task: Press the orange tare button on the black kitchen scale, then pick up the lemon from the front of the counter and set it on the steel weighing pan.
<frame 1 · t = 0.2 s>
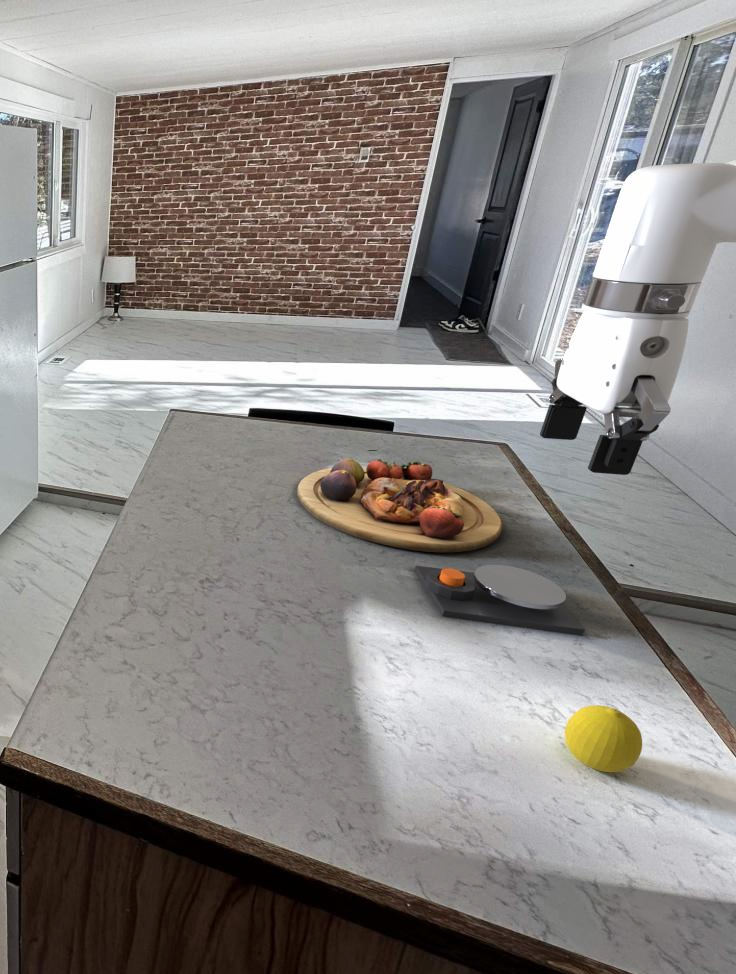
hand: (580, 454, 70), 31 cm above the counter, tool pointing down, fingers open, 9 cm apart
wooden plate: (390, 512, 122), on the counter
lemon: (588, 768, 69), on the counter
scale: (489, 605, 95), on the counter
tare button: (452, 577, 95), point 4 cm above the counter, slide at 0.1 cm
scale pan: (510, 608, 94), resting on scale
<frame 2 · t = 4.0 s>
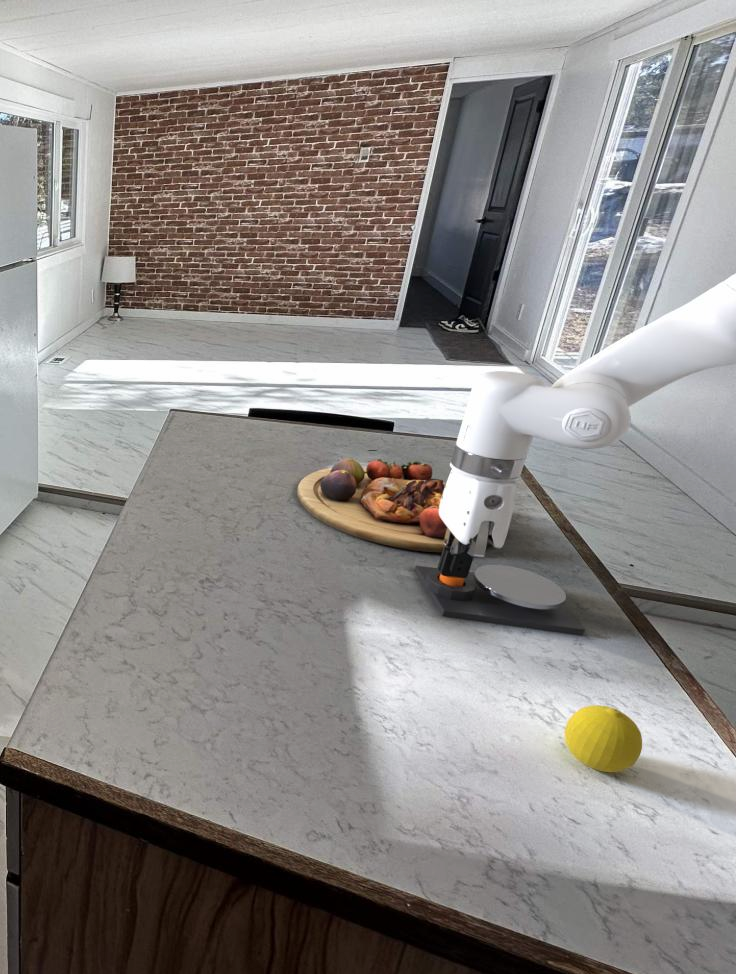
hand: (451, 573, 95), 5 cm above the counter, tool pointing down, fingers closed
tare button: (451, 578, 95), point 4 cm above the counter, slide at 0.0 cm, touching gripper
everything else where it was.
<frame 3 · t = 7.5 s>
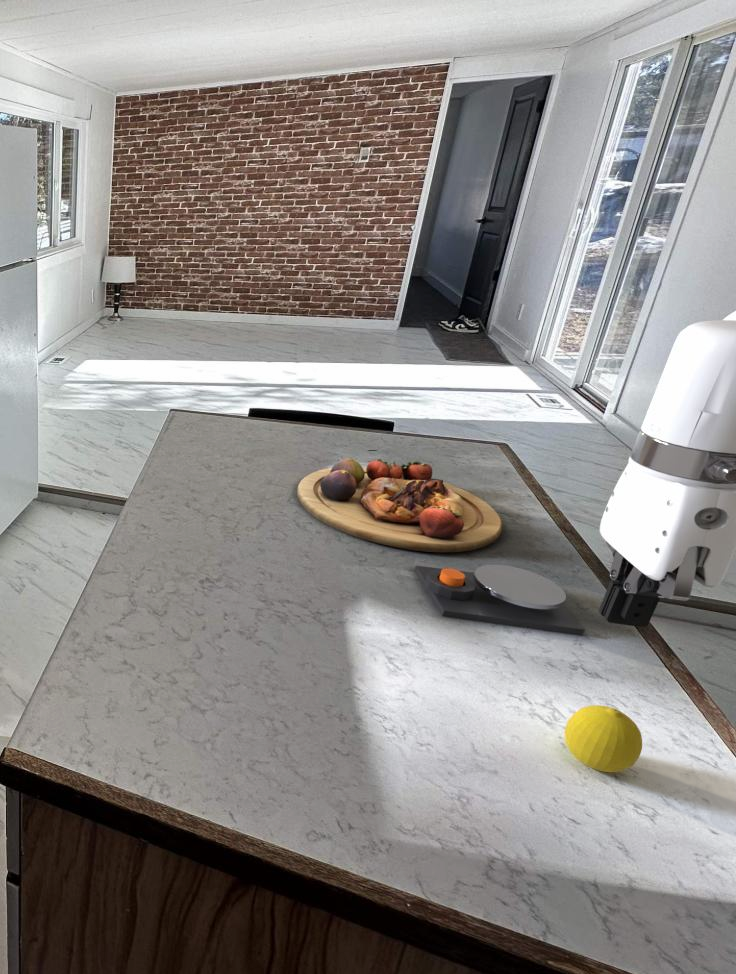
hand: (621, 619, 66), 17 cm above the counter, tool pointing down, fingers closed
tare button: (452, 577, 95), point 4 cm above the counter, slide at 0.1 cm
everything else where it was.
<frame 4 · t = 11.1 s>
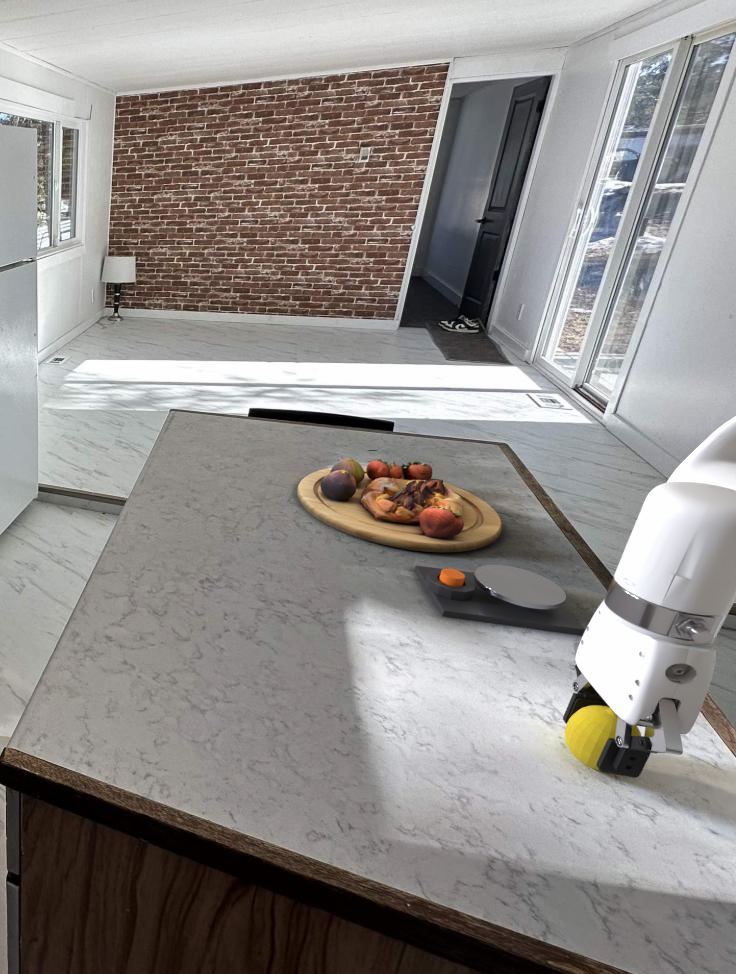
hand: (598, 746, 68), 3 cm above the counter, tool pointing down, fingers closed on lemon, 5 cm apart
lemon: (588, 768, 69), on the counter, touching gripper
everything else where it was.
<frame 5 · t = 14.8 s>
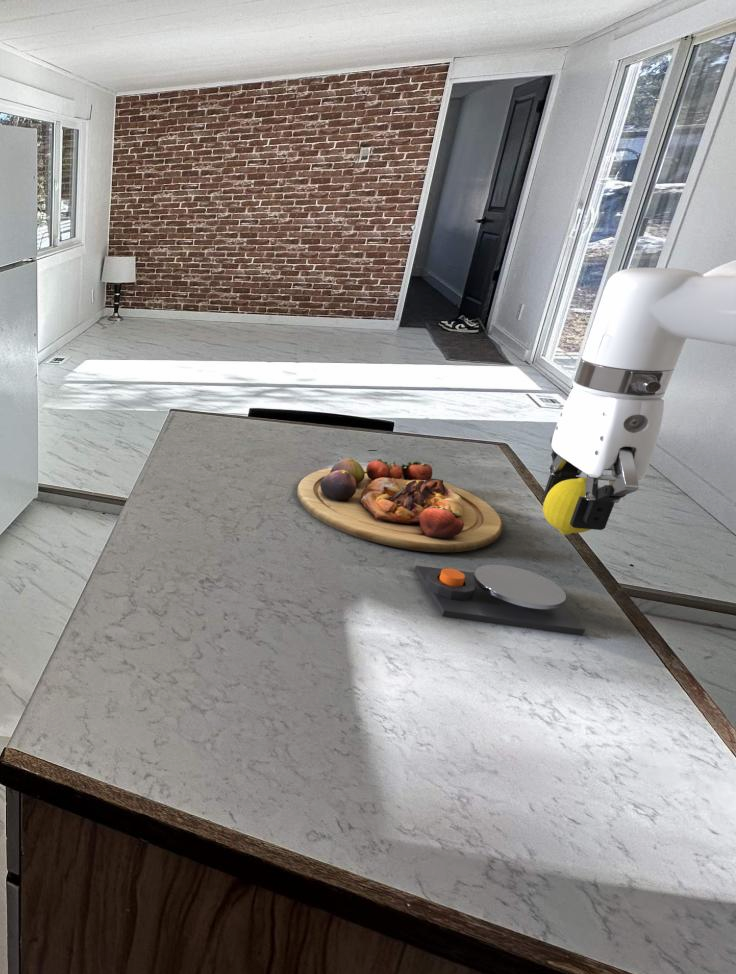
hand: (571, 514, 81), 19 cm above the counter, tool pointing down, fingers closed on lemon, 5 cm apart
lemon: (563, 535, 82), point 16 cm above the counter, touching gripper
everything else where it was.
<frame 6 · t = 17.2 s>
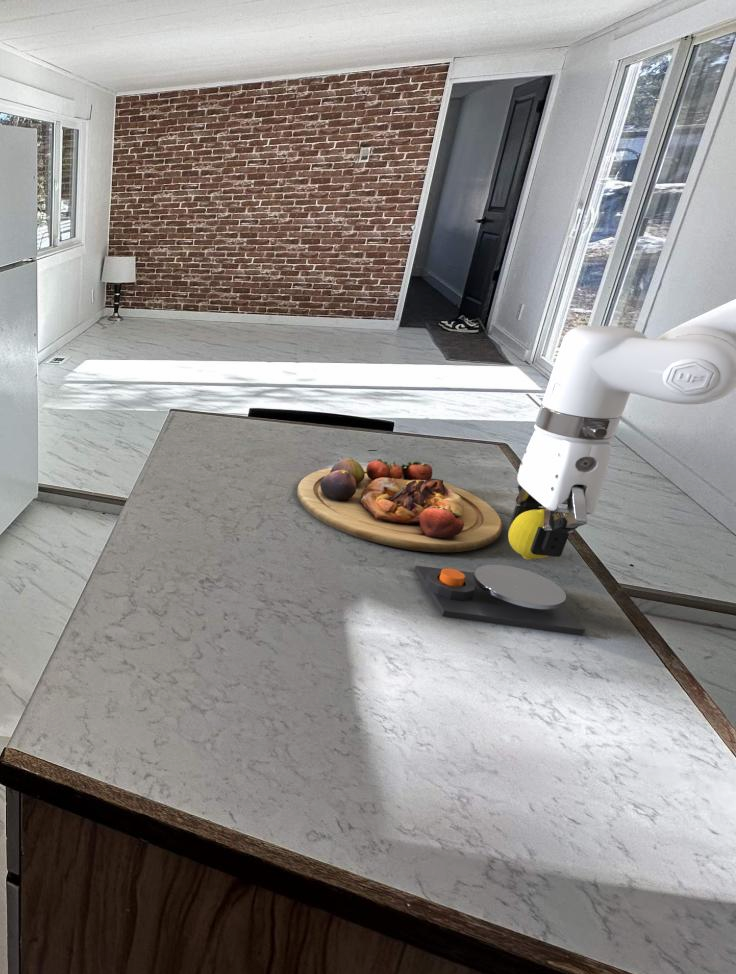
hand: (533, 541, 90), 11 cm above the counter, tool pointing down, fingers closed on lemon, 5 cm apart
lemon: (526, 560, 91), point 8 cm above the counter, touching gripper
everything else where it was.
when the fingers open (7 cm above the counter, at t = 18.7 s): lemon stays where it is, resting on scale pan.
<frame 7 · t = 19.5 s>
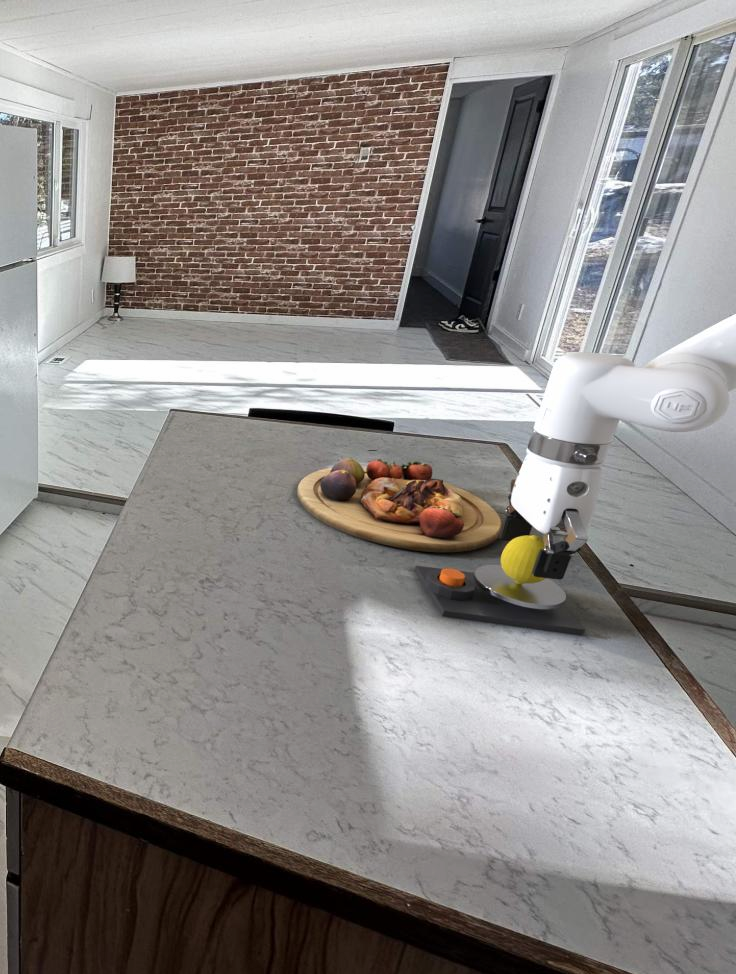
hand: (528, 558, 90), 9 cm above the counter, tool pointing down, fingers open, 9 cm apart
lemon: (518, 584, 92), point 4 cm above the counter, touching scale pan
everything else where it was.
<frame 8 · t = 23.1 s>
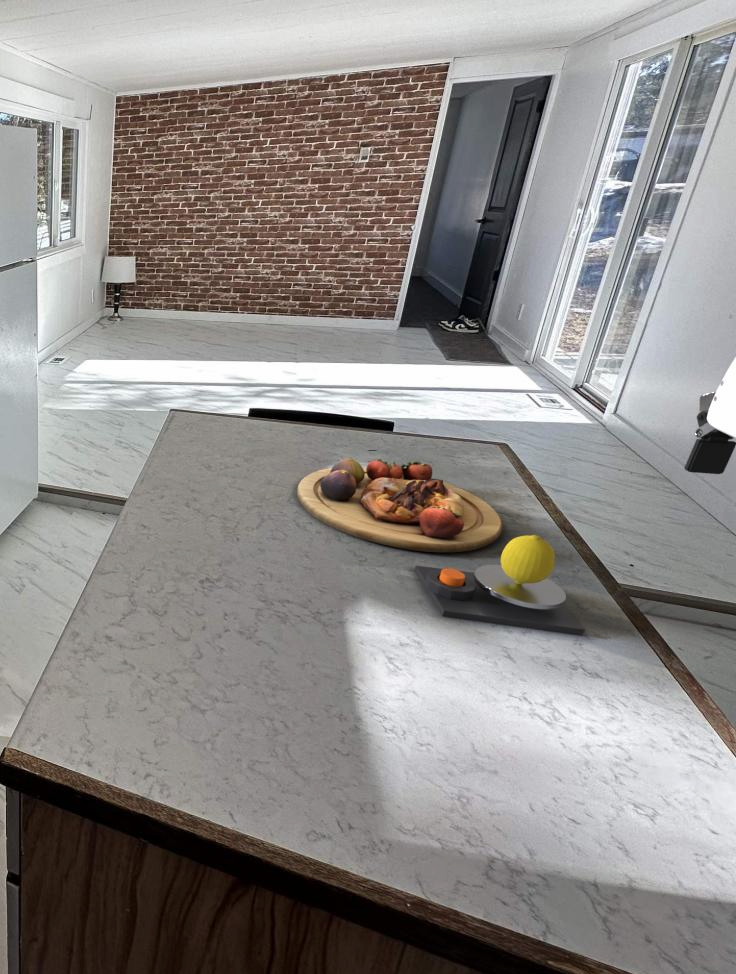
hand: (735, 490, 71), 26 cm above the counter, tool pointing down, fingers open, 9 cm apart
nothing on the counter moved.
at the end: tare button pushed in 0.9 cm at the most during the clip, back to where it started at the end; tare button slide at 0.1 cm; lemon 0.0 cm off-centre on the scale pan, point 4.1 cm above the scale pan's base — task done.
